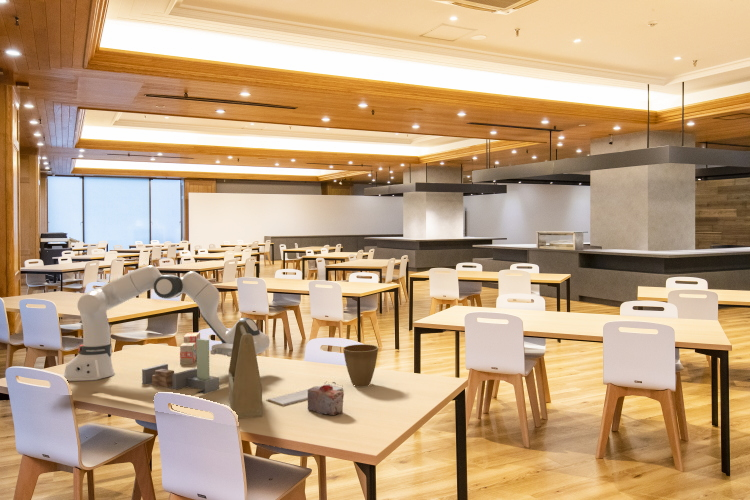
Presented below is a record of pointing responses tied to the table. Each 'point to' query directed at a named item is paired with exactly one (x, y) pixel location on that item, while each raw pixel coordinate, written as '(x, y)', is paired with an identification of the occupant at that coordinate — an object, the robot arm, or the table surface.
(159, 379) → the offcut stack
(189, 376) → the offcut rack
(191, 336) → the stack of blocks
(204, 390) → the steel holder
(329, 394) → the food item
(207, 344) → the tall panel
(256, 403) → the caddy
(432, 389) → the table surface
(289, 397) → the baseboard molding
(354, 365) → the plant pot
